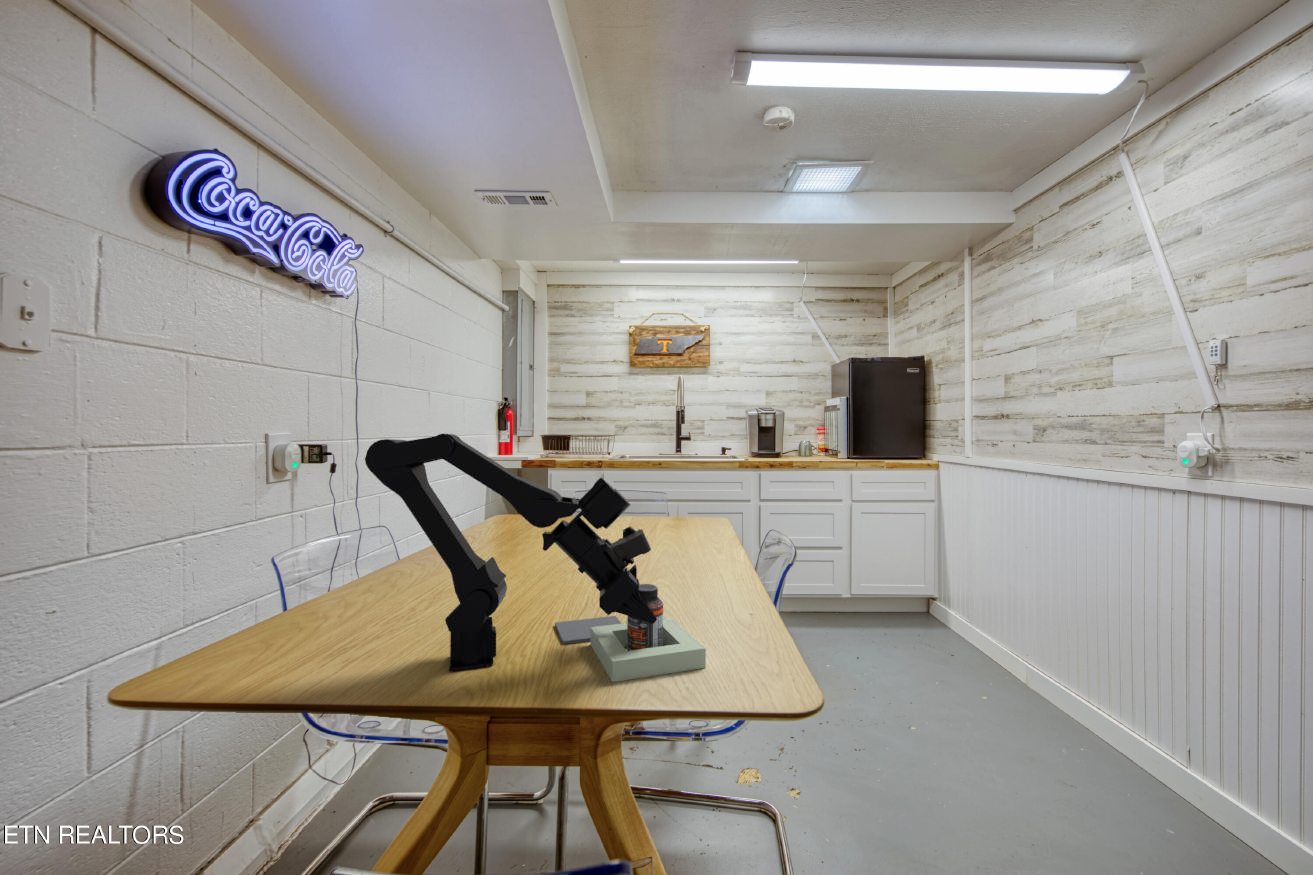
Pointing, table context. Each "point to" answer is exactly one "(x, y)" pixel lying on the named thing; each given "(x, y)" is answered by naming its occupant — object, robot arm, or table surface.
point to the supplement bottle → (644, 632)
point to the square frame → (646, 652)
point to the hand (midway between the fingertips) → (653, 615)
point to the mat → (581, 628)
